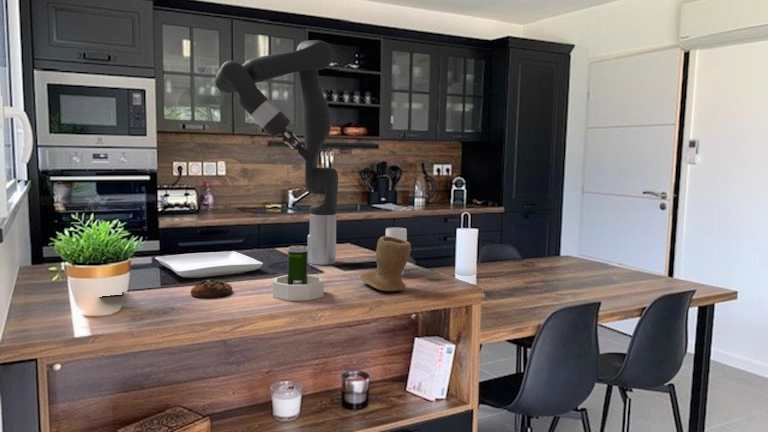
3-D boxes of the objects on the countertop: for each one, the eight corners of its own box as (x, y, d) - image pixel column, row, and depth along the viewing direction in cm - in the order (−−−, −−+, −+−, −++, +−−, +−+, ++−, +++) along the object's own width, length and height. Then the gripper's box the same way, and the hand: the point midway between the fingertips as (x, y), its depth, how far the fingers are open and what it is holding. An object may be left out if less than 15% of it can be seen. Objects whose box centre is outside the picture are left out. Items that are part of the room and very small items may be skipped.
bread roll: (212, 300, 148) (210, 281, 148) (181, 300, 153) (179, 281, 153) (241, 293, 158) (240, 275, 158) (211, 293, 163) (210, 276, 163)
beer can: (309, 292, 155) (309, 248, 154) (289, 293, 153) (289, 248, 152) (305, 287, 160) (305, 245, 159) (285, 288, 158) (286, 245, 157)
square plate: (264, 273, 184) (264, 261, 183) (177, 283, 168) (176, 270, 168) (234, 259, 206) (234, 249, 205) (154, 267, 190) (154, 255, 190)
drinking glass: (406, 273, 187) (407, 227, 185) (405, 277, 180) (406, 230, 179) (385, 272, 188) (386, 227, 186) (383, 276, 181) (384, 229, 179)
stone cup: (416, 292, 162) (418, 239, 160) (377, 295, 157) (379, 241, 156) (394, 281, 176) (395, 232, 174) (358, 283, 171) (358, 233, 169)
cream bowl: (262, 294, 155) (262, 280, 155) (297, 286, 166) (297, 272, 166) (298, 303, 147) (298, 287, 147) (333, 293, 158) (333, 279, 158)
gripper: (279, 108, 163) (319, 149, 167) (280, 111, 177) (317, 150, 181) (260, 126, 163) (301, 167, 166) (262, 128, 177) (300, 166, 180)
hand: (309, 158), depth 173 cm, fingers open, 8 cm apart
